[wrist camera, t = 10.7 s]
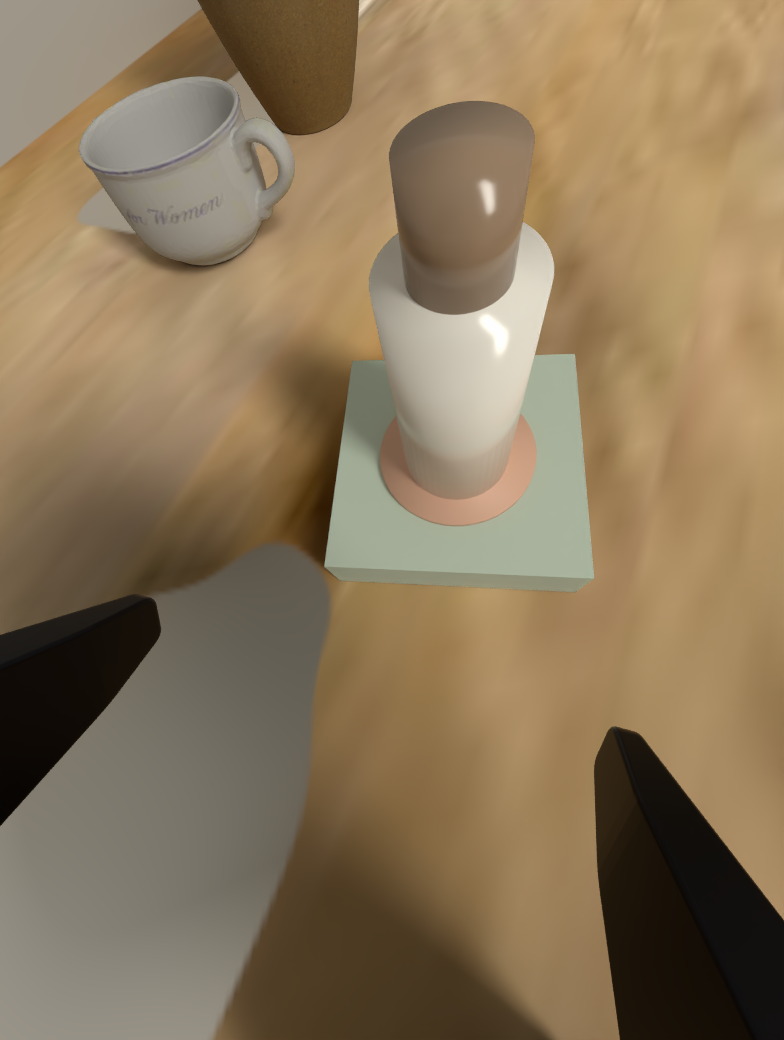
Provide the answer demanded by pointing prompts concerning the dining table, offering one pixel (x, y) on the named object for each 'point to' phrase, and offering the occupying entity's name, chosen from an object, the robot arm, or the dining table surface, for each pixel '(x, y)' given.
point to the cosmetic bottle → (460, 293)
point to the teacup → (187, 168)
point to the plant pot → (292, 56)
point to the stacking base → (469, 522)
